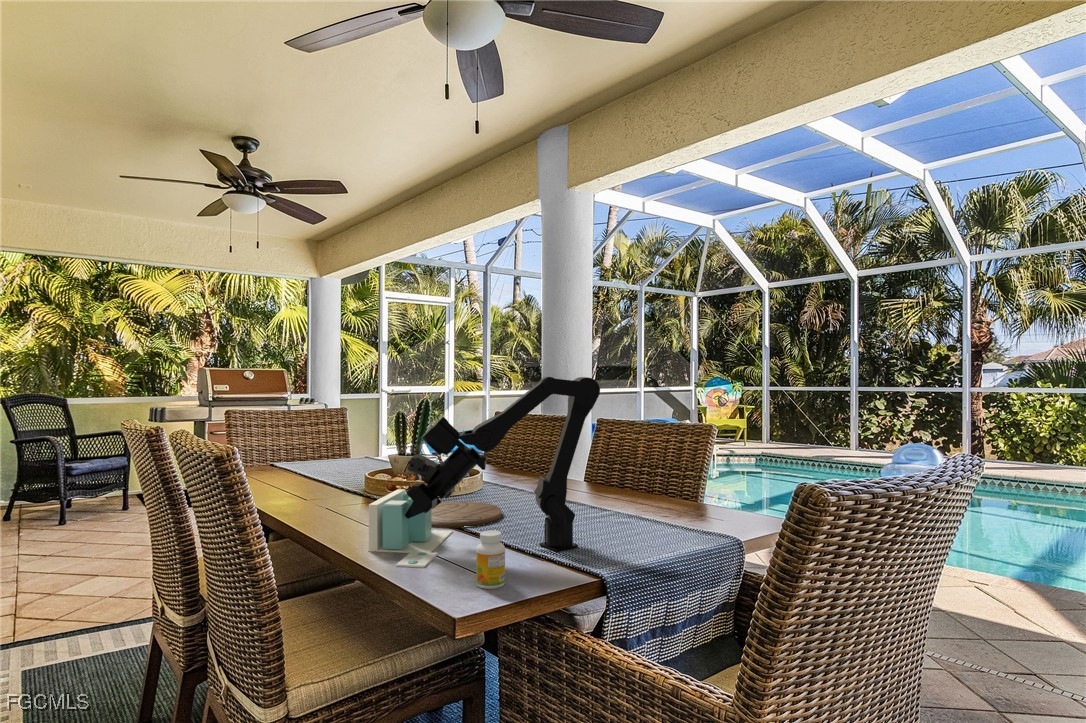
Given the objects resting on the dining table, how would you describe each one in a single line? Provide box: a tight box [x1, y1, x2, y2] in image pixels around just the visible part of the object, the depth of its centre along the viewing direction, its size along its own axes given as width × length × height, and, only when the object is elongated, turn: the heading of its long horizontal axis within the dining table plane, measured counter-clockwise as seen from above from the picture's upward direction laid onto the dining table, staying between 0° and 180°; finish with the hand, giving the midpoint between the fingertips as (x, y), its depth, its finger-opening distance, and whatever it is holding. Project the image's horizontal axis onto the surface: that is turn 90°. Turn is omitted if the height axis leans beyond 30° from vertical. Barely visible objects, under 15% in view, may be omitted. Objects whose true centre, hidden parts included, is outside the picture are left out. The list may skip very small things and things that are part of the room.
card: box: [395, 552, 439, 568], centre depth 135 cm, size 6×9×1 cm, turn 172°
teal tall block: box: [383, 500, 409, 549], centre depth 144 cm, size 4×4×10 cm
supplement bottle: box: [475, 529, 506, 590], centre depth 120 cm, size 5×5×10 cm
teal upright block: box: [407, 498, 432, 542], centre depth 150 cm, size 4×4×10 cm
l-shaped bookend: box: [368, 488, 454, 554], centre depth 150 cm, size 14×18×10 cm
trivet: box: [431, 501, 502, 529], centre depth 175 cm, size 25×25×2 cm
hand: (406, 516), depth 144 cm, fingers closed, pressing on teal tall block
